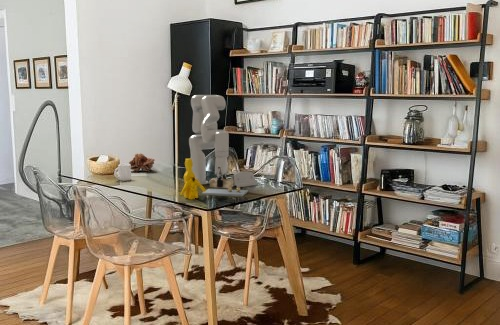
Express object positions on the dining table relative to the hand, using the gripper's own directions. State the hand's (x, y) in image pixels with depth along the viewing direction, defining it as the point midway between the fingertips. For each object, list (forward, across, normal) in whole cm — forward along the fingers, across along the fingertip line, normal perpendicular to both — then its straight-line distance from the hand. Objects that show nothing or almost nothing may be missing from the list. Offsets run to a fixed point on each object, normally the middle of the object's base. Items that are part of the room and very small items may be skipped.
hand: (221, 185), depth 290 cm
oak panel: (+1, 0, 0) cm, 1 cm away
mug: (+10, -42, -81) cm, 92 cm away
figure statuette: (+7, +5, -16) cm, 18 cm away
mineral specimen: (+12, -83, -86) cm, 120 cm away
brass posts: (+6, -12, +4) cm, 14 cm away
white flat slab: (+7, -12, -1) cm, 14 cm away
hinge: (+9, -41, +3) cm, 42 cm away
